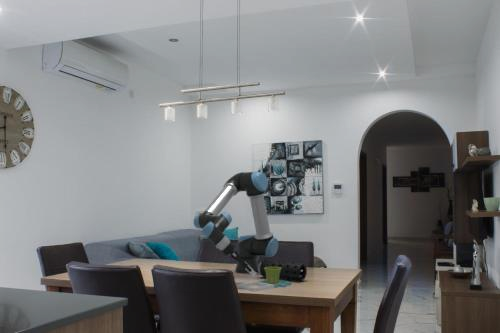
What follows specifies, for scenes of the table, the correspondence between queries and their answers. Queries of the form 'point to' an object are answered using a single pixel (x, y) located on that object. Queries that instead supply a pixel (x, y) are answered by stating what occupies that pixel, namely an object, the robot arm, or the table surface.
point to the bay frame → (262, 285)
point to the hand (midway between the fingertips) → (253, 273)
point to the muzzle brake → (285, 270)
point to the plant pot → (272, 274)
